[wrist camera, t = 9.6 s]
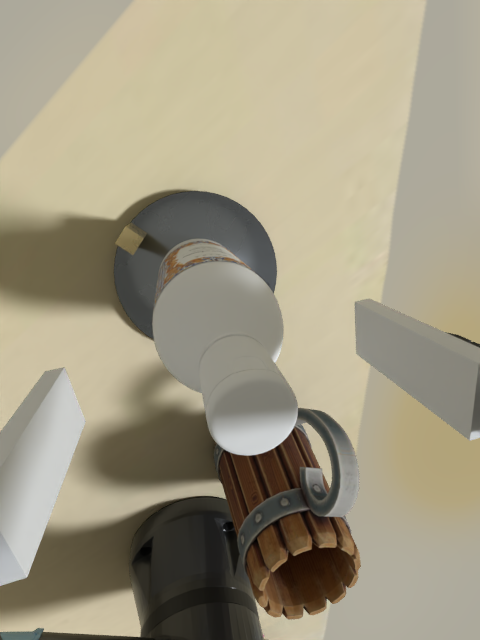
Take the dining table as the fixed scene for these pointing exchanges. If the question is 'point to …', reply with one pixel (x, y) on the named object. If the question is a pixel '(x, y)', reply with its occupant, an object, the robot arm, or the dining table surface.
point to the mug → (294, 518)
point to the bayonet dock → (178, 226)
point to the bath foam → (224, 344)
